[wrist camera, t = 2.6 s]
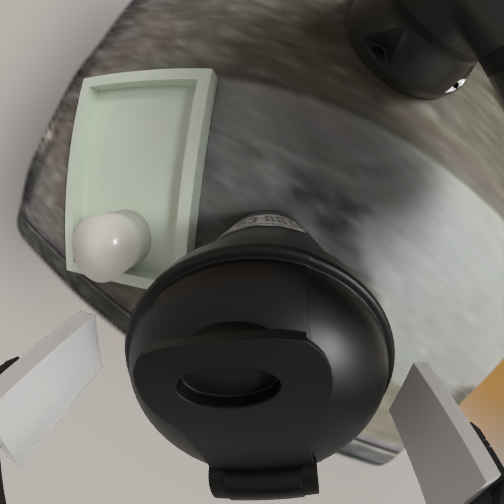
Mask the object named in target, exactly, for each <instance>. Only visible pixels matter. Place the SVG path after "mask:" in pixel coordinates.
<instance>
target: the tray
mask: <svg viewBox="0 0 504 504" xmlns="http://www.w3.org/2000/svg"><path fill="white" fill-rule="evenodd" d="M217 84H218V78H217V76H216V74H215V72H214V70H213V69H212V68H177V69H155V70H142V71H132V72H123V73H115V74H108V75H101V76H95V77H89V78H84V80H83V84H82V88H81V92H80V97H79V101H78V106H77V111H76V116H75V121H74V127H73V133H72V140H71V147H70V155H69V164H68V175H67V188H66V210H65V244H66V266H67V270H69V271H73V272H76V273H80V274H83V273H82V271H81V270H80V269H79V267H78V266H77V264H76V261H75V259H74V255H73V250H72V240H73V235H74V232H75V229H76V228H77V226H78V225H79V224H80V222H82V221H83V220H84V219H86V218H89V217H93V216H97V215H102V214H106V213H110V212H114V211H119V210H124V209H128V210H132V211H135V212H137V213H138V214H140V215H141V216H142V217H143V218H144V219H145V221H146V222H147V224H148V226H149V229H150V232H151V247H150V250H149V253H148V254H147V256H146V257H145V258H144V259H143V260H142V261H141V262H139V263H138V264H136V265H134V266H133V267H131V268H130V269H128V270H127V271H125V272H124V273H122V274H121V275H119V276H118V277H116V278H114V279H113V280H111V281H112V282H116V283H121V284H125V285H129V286H134V287H138V288H143V289H148V288H149V286H150V285H151V284H152V283H153V282H154V281H155V279H156V278H157V277H158V276H159V275H160V274H162V273H163V272H164V271H165V270H166V269H167V268H169V267H170V266H171V265H172V264H174V263H175V262H176V261H177V260H179V259H180V258H182V257H183V256H185V255H186V254H188V253H189V252H191V251H193V250H195V240H196V230H197V221H198V211H199V203H200V194H201V186H202V179H203V171H204V164H205V157H206V150H207V143H208V136H209V130H210V124H211V118H212V112H213V106H214V100H215V95H216V89H217Z"/></svg>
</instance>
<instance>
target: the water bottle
mask: <svg viewBox="0 0 504 504" xmlns="http://www.w3.org/2000/svg"><path fill="white" fill-rule="evenodd" d="M125 356H126V363H127V367H128V371H129V375H130V378H131V383H132V387H133V390H134V393H135V395H136V398H137V400H138V402H139V404H140V406H141V408H142V410H143V412H144V413H145V415H146V416H147V417H148V419H149V420H150V422H151V423H152V424H153V425H154V427H155V428H156V429H157V430H158V431H159V432H160V433H161V434H162V435H163V436H164V437H165V438H166V439H167V440H168V441H170V442H171V443H172V444H173V445H175V446H176V447H178V448H179V449H180V450H182V451H184V452H185V453H187V454H189V455H190V456H192V457H194V458H196V459H198V460H200V461H203V462H205V463H207V464H208V465H209V486H210V489H211V492H212V494H213V495H214V497H216V498H228V499H231V500H274V499H289V498H298V497H304V496H305V495H311V494H318V493H319V485H318V474H317V463H318V462H320V461H322V460H323V459H325V458H327V457H329V456H331V455H333V454H334V453H336V452H338V451H339V450H341V449H342V448H344V447H345V446H346V445H348V444H349V443H350V442H351V441H352V440H354V439H355V438H356V437H357V436H358V435H359V434H360V433H361V432H362V430H363V429H364V428H365V427H366V426H367V424H368V423H369V422H370V420H371V419H372V417H373V416H374V414H375V413H376V411H377V409H378V407H379V405H380V403H381V400H382V398H383V396H384V394H385V392H386V390H387V388H388V385H389V383H390V380H391V377H392V373H393V367H394V359H395V348H394V340H393V335H392V331H391V327H390V324H389V322H388V319H387V317H386V315H385V312H384V311H383V309H382V307H381V305H380V304H379V302H378V301H377V299H376V298H375V296H374V295H373V294H372V293H371V292H370V290H369V289H368V288H367V287H366V285H365V284H364V283H363V282H362V281H361V279H360V278H359V277H358V276H357V275H356V274H355V273H354V272H353V271H352V270H351V269H350V268H349V267H347V266H346V265H345V264H344V263H342V262H341V261H340V260H338V259H337V258H335V257H334V256H332V255H330V254H329V253H327V252H325V251H324V250H323V249H322V248H321V247H320V246H319V245H318V243H317V242H316V241H315V240H314V239H313V238H312V237H311V236H310V235H309V233H308V232H307V231H306V230H305V229H304V228H303V227H302V226H301V225H300V223H299V222H298V221H296V220H295V219H294V218H293V217H291V216H289V215H287V214H285V213H283V212H279V211H274V210H262V211H257V212H254V213H251V214H249V215H247V216H246V217H244V218H243V219H241V220H240V221H239V222H238V223H237V224H235V225H234V226H233V227H231V228H229V230H228V231H227V232H225V233H223V234H222V235H221V236H220V237H218V238H217V239H216V240H215V242H214V241H213V242H212V243H209V244H206V245H204V246H201V247H199V248H197V249H195V250H193V251H191V252H189V253H188V254H186V255H185V256H183V257H182V258H180V259H179V260H177V261H176V262H175V263H174V264H172V265H171V266H170V267H169V268H167V269H166V270H165V271H164V272H163V273H162V274H160V275H159V276H158V277H157V278H156V279H155V281H154V282H153V283H152V284H151V285H150V286H149V288H148V289H147V290H146V291H145V292H144V294H143V295H142V297H141V298H140V300H139V301H138V303H137V305H136V307H135V308H134V310H133V313H132V315H131V317H130V320H129V323H128V327H127V331H126V338H125Z"/></svg>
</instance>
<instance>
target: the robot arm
mask: <svg viewBox="0 0 504 504" xmlns="http://www.w3.org/2000/svg"><path fill="white" fill-rule="evenodd" d="M347 30H348V34H349V38H350V40H351V43H352V45H353V47H354V49H355V50H356V52H357V53H358V55H359V56H360V58H361V59H362V60H363V62H364V63H365V64H366V65H367V66H368V67H369V68H370V69H371V70H372V71H373V72H374V73H375V74H376V75H377V76H378V77H379V78H381V79H382V80H383V81H384V82H386V83H387V84H389V85H390V86H392V87H393V88H395V89H397V90H399V91H400V92H403V93H405V94H407V95H410V96H413V97H416V98H421V99H438V98H442V97H444V96H447V95H449V94H451V93H453V92H455V91H456V90H458V89H459V88H460V87H461V86H462V85H463V83H464V82H465V80H466V79H467V77H468V76H469V74H470V73H471V71H472V70H473V68H474V67H475V65H476V64H477V62H478V61H479V62H480V64H481V66H482V68H483V69H484V71H485V73H486V75H487V77H488V79H489V81H490V83H491V85H492V87H493V89H494V91H495V93H496V95H497V97H498V99H499V101H500V103H501V105H502V108H503V110H504V0H354V2H353V4H352V6H351V8H350V10H349V13H348V16H347ZM101 368H102V363H101V357H100V351H99V344H98V337H97V329H96V321H95V315H93V314H90V313H87V312H84V311H80V312H78V313H77V314H75V315H74V316H73V317H71V318H70V319H69V320H68V321H66V322H65V323H64V324H62V325H61V326H60V327H58V328H57V329H56V330H55V331H53V332H52V333H51V334H49V335H48V336H47V337H45V338H44V339H43V340H42V341H40V342H39V343H38V344H37V345H35V347H33V348H32V349H30V350H29V351H28V352H27V353H26V354H24V355H23V356H22V357H21V358H19V357H15V358H13V359H11V360H8V361H6V362H5V363H4V364H2V365H1V366H0V447H1V448H2V450H3V451H4V452H5V454H6V455H7V456H8V457H9V458H10V459H11V460H13V461H14V462H15V463H16V464H18V465H19V466H20V467H22V468H23V467H24V465H25V464H26V463H27V461H28V460H29V459H30V457H31V456H32V455H33V453H34V452H35V451H36V449H37V448H38V447H39V445H40V444H41V443H42V442H43V440H44V439H45V438H46V436H47V435H48V434H49V432H50V431H51V430H52V429H53V427H54V426H55V425H56V424H57V422H58V421H59V420H60V418H61V417H62V416H63V415H64V413H65V412H66V411H67V410H68V408H69V407H70V406H71V405H72V403H73V402H74V401H75V399H77V397H78V396H79V395H80V394H81V392H82V391H83V390H84V389H85V388H86V386H87V385H88V384H89V383H90V381H91V380H92V379H93V378H94V377H95V376H96V374H97V373H98V372H99V371H100V370H101ZM389 411H390V413H391V415H392V418H393V420H394V422H395V424H396V427H397V429H398V432H399V434H400V436H401V439H402V441H403V443H404V446H405V448H406V451H407V453H408V456H409V458H410V461H411V463H412V466H413V469H414V471H415V474H416V476H417V479H418V482H419V484H420V487H421V490H422V492H423V495H424V498H425V501H426V504H504V467H503V466H502V464H501V462H500V461H499V459H498V457H497V455H496V454H495V452H494V451H493V449H492V447H491V448H490V444H489V443H488V441H487V440H485V439H486V438H485V436H484V435H483V433H482V432H481V430H480V429H479V428H478V427H476V426H475V425H474V424H473V423H472V422H469V421H468V419H467V418H466V416H465V415H464V413H463V412H462V410H461V409H460V407H459V406H458V405H457V403H456V402H455V400H454V399H453V397H452V396H451V394H450V393H449V392H448V390H447V389H446V387H445V386H444V385H443V383H442V382H441V380H440V379H439V378H438V376H437V375H436V374H435V372H434V371H433V370H432V368H431V367H430V366H429V364H428V363H427V362H422V363H413V365H412V367H411V369H410V371H409V373H408V375H407V377H406V379H405V381H404V383H403V385H402V387H401V389H400V391H399V393H398V395H397V397H396V399H395V400H394V402H393V404H392V406H391V408H390V409H389ZM0 504H6V501H5V495H4V489H3V482H2V473H1V463H0Z"/></svg>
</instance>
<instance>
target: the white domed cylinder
mask: <svg viewBox="0 0 504 504" xmlns="http://www.w3.org/2000/svg"><path fill="white" fill-rule="evenodd" d="M150 247H151V232H150V229H149V226H148V224H147V222H146V221H145V219H144V218H143V217H142V216H141V215H140V214H138V213H137V212H135V211H132V210H128V209H124V210H119V211H114V212H110V213H106V214H102V215H97V216H93V217H89V218H86V219H84V220H83V221H82V222H80V224H79V225H78V226H77V228H76V229H75V232H74V235H73V240H72V250H73V255H74V259H75V261H76V264H77V266H78V267H79V269H80V270H81V271H82V273H83V274H84V275H85V276H86V277H88V278H89V279H91V280H93V281H95V282H99V283H105V282H109V281H111V280H113V279H114V278H116V277H118V276H119V275H121V274H122V273H124V272H125V271H127V270H128V269H130V268H131V267H133V266H134V265H136V264H138V263H139V262H141V261H142V260H143V259H144V258H145V257H146V256H147V254H148V253H149V250H150Z"/></svg>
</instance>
